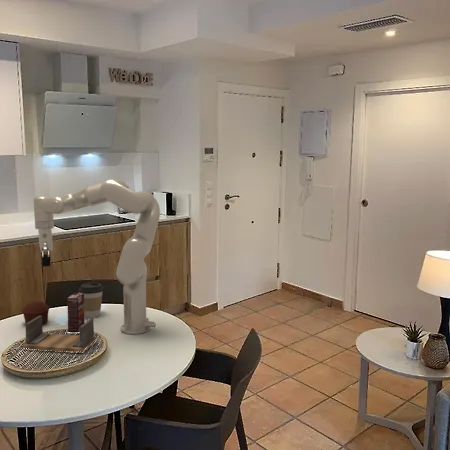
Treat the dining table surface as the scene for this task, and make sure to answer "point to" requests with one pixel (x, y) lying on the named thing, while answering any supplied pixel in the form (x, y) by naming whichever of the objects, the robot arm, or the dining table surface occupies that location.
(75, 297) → the supplement box
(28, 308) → the muffin
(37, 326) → the shelf
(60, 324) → the dining table surface
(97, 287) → the coffee cup
